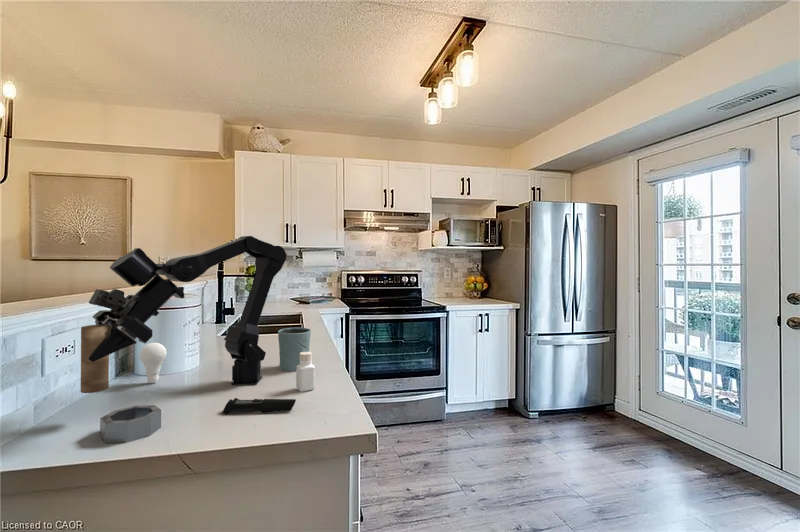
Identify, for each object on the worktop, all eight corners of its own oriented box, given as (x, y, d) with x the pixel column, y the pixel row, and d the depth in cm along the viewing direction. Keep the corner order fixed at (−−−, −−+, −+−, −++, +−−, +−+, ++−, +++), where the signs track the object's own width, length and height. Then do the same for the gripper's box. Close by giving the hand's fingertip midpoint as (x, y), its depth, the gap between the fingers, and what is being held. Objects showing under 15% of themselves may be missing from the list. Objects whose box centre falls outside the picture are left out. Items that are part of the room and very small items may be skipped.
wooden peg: (113, 385, 80) (114, 324, 80) (98, 392, 76) (99, 327, 76) (91, 386, 80) (91, 324, 80) (74, 393, 75) (75, 328, 75)
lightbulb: (156, 386, 100) (157, 345, 100) (133, 386, 100) (134, 344, 100) (171, 380, 106) (171, 340, 106) (149, 379, 106) (150, 340, 106)
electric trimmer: (293, 416, 83) (293, 401, 83) (221, 415, 82) (221, 401, 82) (297, 409, 86) (297, 396, 86) (228, 409, 86) (228, 395, 86)
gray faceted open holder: (168, 421, 78) (168, 404, 78) (141, 442, 69) (142, 422, 69) (122, 422, 77) (122, 405, 77) (89, 443, 68) (89, 423, 68)
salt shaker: (310, 385, 102) (310, 350, 102) (315, 390, 99) (315, 353, 99) (295, 388, 100) (295, 352, 100) (300, 392, 96) (300, 355, 96)
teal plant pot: (298, 362, 127) (298, 326, 127) (317, 367, 120) (317, 329, 120) (271, 368, 119) (271, 330, 119) (289, 374, 112) (290, 334, 112)
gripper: (104, 274, 86) (38, 329, 78) (135, 276, 75) (61, 340, 66) (143, 306, 93) (86, 360, 84) (177, 312, 81) (115, 375, 73)
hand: (86, 358), depth 77 cm, fingers closed on wooden peg, 4 cm apart
